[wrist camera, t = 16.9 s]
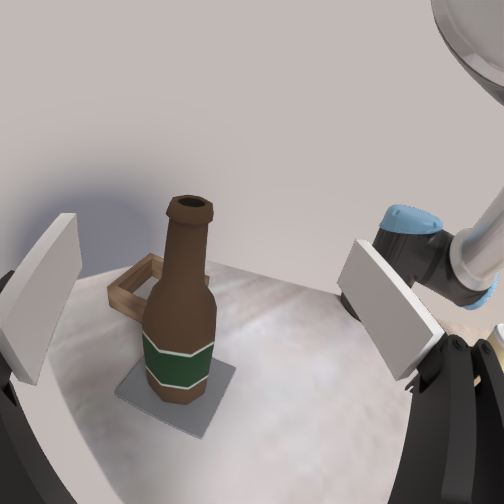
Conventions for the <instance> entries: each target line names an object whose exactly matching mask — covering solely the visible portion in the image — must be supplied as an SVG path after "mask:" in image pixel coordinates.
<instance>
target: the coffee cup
mask: <svg viewBox="0 0 504 504" xmlns="http://www.w3.org/2000/svg"><path fill="white" fill-rule="evenodd" d="M487 341H488V342H489V343H490V344H491V346H492V347H493V349H494V350H495V353H496V355H497V358H498V360H499V363H500V365H501V368H502V370H503V371H504V324H502V323H500V324H498V325H496V326H495V327H494V329H493V331H492V333H491V334H490V336H489V337H488V339H487ZM480 381H481V380H480V376H478V377H477V378H476V379H475V380H474V385H475V386H476V385H477V384H478V383H479V382H480Z"/></svg>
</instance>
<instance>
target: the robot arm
mask: <svg viewBox="0 0 504 504" xmlns="http://www.w3.org/2000/svg"><path fill="white" fill-rule="evenodd" d="M431 5H432V10H433V15H434V19H435V22H436V25H437V28H438V30H439V33H440V34H441V36H442V38H443V40H444V42H445V44H446V45H447V47H448V48H449V50H450V52H451V53H452V54H453V56H454V57H455V58H456V59H457V60H458V62H459V63H460V64H461V65H462V67H463V68H464V69H465V70H466V71H467V72H468V73H469V74H470V76H471V77H472V78H473V79H474V80H475V81H477V82H478V83H479V84H480V85H481V86H482V87H483V88H484V89H485V90H486V91H487V92H488V93H489V94H490V95H491V96H492V97H493V98H494V99H496V100H497V101H498V102H499V103H501V104H502V105H503V106H504V0H431ZM76 220H77V218H76V214H73V213H61V214H60V215H59V216H58V217H57V219H56V220H55V221H54V222H53V223H52V224H51V225H50V227H49V228H48V229H47V230H46V232H45V233H44V234H43V235H42V236H41V238H40V239H39V240H38V241H37V243H36V244H35V245H34V247H33V248H32V249H31V250H30V252H29V253H28V254H27V256H26V257H25V259H24V260H23V261H22V263H21V264H20V265H19V267H18V268H17V270H16V271H12V270H11V271H10V272H8V273H7V274H6V275H5V276H3V277H2V278H1V279H0V504H77V502H76V501H75V500H74V499H73V497H72V496H71V494H70V493H69V492H68V490H67V489H66V487H65V486H64V484H63V483H62V482H61V480H60V479H59V477H58V476H57V474H56V472H55V471H54V469H53V468H52V466H51V464H50V463H49V461H48V459H47V457H46V456H45V454H44V452H43V451H42V449H41V447H40V445H39V443H38V441H37V439H36V437H35V435H34V434H33V431H32V429H31V427H30V425H29V423H28V421H27V419H26V417H25V414H24V412H23V410H22V407H21V405H20V402H19V400H18V397H17V395H16V392H15V390H14V387H13V385H12V383H11V381H10V380H9V378H10V375H11V372H13V373H14V375H15V376H16V378H17V379H18V380H19V381H21V382H24V383H27V384H31V385H34V386H36V385H37V382H38V378H39V375H40V371H41V368H42V365H43V362H44V359H45V356H46V353H47V350H48V347H49V344H50V341H51V339H52V336H53V333H54V330H55V328H56V325H57V323H58V320H59V318H60V315H61V313H62V310H63V308H64V306H65V303H66V301H67V299H68V297H69V294H70V292H71V290H72V288H73V285H74V283H75V281H76V279H77V277H78V275H79V273H80V271H81V269H82V261H81V253H80V246H79V238H78V229H77V221H76ZM379 226H380V228H379V231H378V233H377V235H376V238H375V240H374V242H373V244H372V246H371V244H370V243H369V242H368V241H366V240H358V239H355V241H354V244H353V246H352V249H351V251H350V254H349V256H348V258H347V261H346V263H345V265H344V268H343V270H342V272H341V275H340V277H339V279H338V282H337V284H338V285H339V287H340V288H341V290H342V293H341V299H342V302H343V304H344V306H345V307H346V309H347V310H348V311H349V312H350V313H351V314H352V315H353V316H354V317H355V318H356V319H358V320H359V321H361V322H362V324H363V325H364V327H365V329H366V330H367V332H368V334H369V335H370V337H371V339H372V340H373V342H374V344H375V345H376V347H377V349H378V350H379V352H380V354H381V356H382V357H383V359H384V361H385V363H386V364H387V366H388V368H389V370H390V371H391V373H392V375H393V377H394V379H395V380H396V381H397V380H400V379H404V378H407V377H409V375H410V374H411V373H412V372H413V371H414V370H415V369H417V370H418V372H419V373H418V374H417V375H416V376H415V377H414V378H413V379H412V381H411V382H410V383H409V384H408V385H407V386H406V388H405V390H406V391H407V390H408V389H409V388H410V387H411V386H414V387H413V388H412V389H411V390H410V391H409V392H411V393H413V395H412V403H411V410H410V416H409V422H408V427H407V433H406V438H405V443H404V447H403V452H402V456H401V460H400V464H399V468H398V471H397V475H396V478H395V482H394V485H393V488H392V492H391V495H390V498H389V501H388V504H504V373H503V370H502V368H501V365H500V363H499V360H498V358H497V355H496V353H495V350H494V349H493V347H492V346H491V344H490V343H489V342H488V341H487V340H484V339H479V340H478V341H477V342H476V343H475V345H474V346H473V347H470V346H468V344H467V343H466V342H465V341H464V340H463V339H462V338H461V337H459V336H457V335H454V334H452V335H450V336H448V335H447V334H446V332H445V331H444V330H443V328H442V327H441V326H440V325H439V323H438V322H437V321H436V319H435V318H434V317H433V316H432V314H430V312H429V311H428V309H427V308H426V307H425V306H424V304H423V303H422V302H421V301H420V299H418V298H417V296H416V295H415V294H414V293H413V292H412V290H411V287H412V286H413V284H414V282H415V281H416V282H418V283H420V284H422V285H424V286H426V287H428V288H429V289H431V290H433V291H434V292H436V293H438V294H440V295H442V296H443V297H445V298H447V299H449V300H450V301H452V302H453V303H454V304H456V305H457V306H460V307H463V308H465V309H467V310H475V309H477V308H479V307H481V306H482V305H483V304H484V303H485V302H486V301H487V298H488V297H490V296H491V294H492V293H493V291H494V289H495V287H496V284H497V281H498V276H499V270H500V269H502V268H503V267H504V187H503V189H502V190H501V191H500V193H499V194H498V196H497V197H496V199H495V200H494V201H493V202H492V204H491V205H490V206H489V208H488V209H487V210H486V212H485V213H484V214H483V215H482V217H481V218H480V219H479V220H478V222H477V223H476V224H475V225H474V227H473V228H468V229H463V230H461V231H460V232H458V233H457V234H456V235H455V236H454V235H452V234H450V233H448V232H446V231H444V230H442V227H443V226H442V221H441V220H440V219H439V218H437V217H436V216H434V215H431V214H430V213H428V212H426V211H423V210H420V209H417V208H414V207H410V206H406V205H392V206H391V207H389V208H388V210H387V211H386V214H385V216H384V218H383V220H382V222H381V223H380V225H379ZM478 376H480V380H481V381H480V382H479V383H478V384H477V385H476V386H475V387H474V380H475V379H476V378H477V377H478Z"/></svg>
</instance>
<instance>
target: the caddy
mask: <svg viewBox="0 0 504 504" xmlns="http://www.w3.org/2000/svg"><path fill="white" fill-rule="evenodd" d="M163 262H164V258H161V257H159V256H156V255H154V254H151V253H150V254H148V255H147V256H146V257H145V258H143V259H142V260H141V261H139V262H138V263H137V264H135V265H134V266H133V267H132V268H130V269H129V270H128V271H127V272H125V273H124V274H123V275H122V276H120V277H119V278H118V279H117V280H115V281H114V282H113V283H112V284H110V285H109V286H108V287H107V290H108V298H109V305H110V306H111V307H112V308H114V309H116V310H118V311H119V312H121V313H123V314H125V315H127V316H129V317H131V318H132V319H134V320H136V321H138V322H140V323H142V316H143V313H144V310H145V307H146V304H147V301H146V300H144V299H142V298H140V297H138V296H136V295H134V294H132V293H133V292H134V291H135V290H136V289H137V288H139V287H140V286H141V285H142V284H143V283H144V282H145V281H146V280H147V279H149V278H150V277H151V276H153V277H155V278H158V279H161V277H162V271H163ZM209 277H210V276H207V275H205V285H206V286H207V287H208V284H209Z"/></svg>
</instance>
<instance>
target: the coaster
mask: <svg viewBox="0 0 504 504" xmlns="http://www.w3.org/2000/svg"><path fill="white" fill-rule="evenodd" d="M235 370H236V368H235V367H233V366H230V365H228V364H225V363H223V362H220V361H218V360H215V359H213V358H211V363H210V369H209V374H208V380H207V385H206V389H205V393H204V394H203V395H201V396H200V397H198V398H197V399H195V400H193V401H192V402H190V403H189V404H187V405H182V404H175V403H169V402H163V401H162V400H161V399H160V397H159V396H158V395H157V394H156V393H155V392H154V390H153V389H152V388H151V387H150V385H149V383H148V379H147V373H146V365H145V356H143V357H142V358H141V359H140V361H139V362H138V363H137V364H136V366H135V367H134V368H133V369H132V371H131V372H130V373H129V374H128V376H127V377H126V378H125V379H124V381H123V382H122V383H121V384H120V386H119V387H118V388H117V389H116V391H115V392H114V393H115V395H117V396H118V397H120V398H121V399H123V400H125V401H126V402H128V403H130V404H131V405H133V406H135V407H137V408H138V409H140V410H142V411H144V412H145V413H147V414H149V415H151V416H153V417H155V418H157V419H159V420H160V421H162V422H164V423H166V424H168V425H170V426H172V427H175V428H177V429H179V430H181V431H183V432H185V433H187V434H190V435H192V436H194V437H196V438H199V439H201V440H202V438H203V436H204V434H205V432H206V430H207V428H208V426H209V424H210V422H211V420H212V418H213V416H214V414H215V412H216V410H217V408H218V406H219V404H220V402H221V400H222V398H223V396H224V394H225V391H226V389H227V387H228V385H229V383H230V381H231V379H232V377H233V375H234V373H235Z"/></svg>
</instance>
